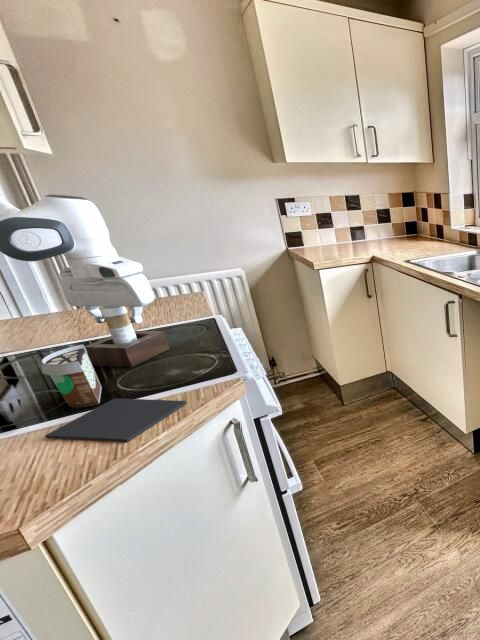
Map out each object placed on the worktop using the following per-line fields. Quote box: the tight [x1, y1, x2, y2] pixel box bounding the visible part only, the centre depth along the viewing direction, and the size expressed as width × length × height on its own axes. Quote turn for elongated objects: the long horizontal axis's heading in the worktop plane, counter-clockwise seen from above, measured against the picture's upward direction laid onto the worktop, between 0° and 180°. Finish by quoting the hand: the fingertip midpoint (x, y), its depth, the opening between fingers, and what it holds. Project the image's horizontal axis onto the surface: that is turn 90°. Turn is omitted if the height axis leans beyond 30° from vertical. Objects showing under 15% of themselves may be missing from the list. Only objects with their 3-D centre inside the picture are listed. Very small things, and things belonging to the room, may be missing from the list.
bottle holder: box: [84, 330, 171, 368], centre depth 106 cm, size 11×11×5 cm
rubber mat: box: [44, 398, 188, 443], centre depth 80 cm, size 16×13×1 cm
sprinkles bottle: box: [99, 307, 137, 345], centre depth 105 cm, size 5×5×14 cm
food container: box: [40, 343, 103, 408], centre depth 85 cm, size 12×6×10 cm, turn 40°
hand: (120, 322), depth 104 cm, fingers open, 8 cm apart
